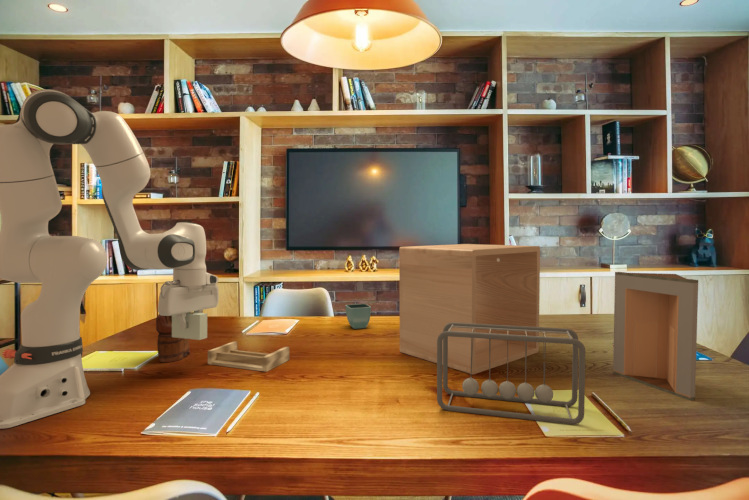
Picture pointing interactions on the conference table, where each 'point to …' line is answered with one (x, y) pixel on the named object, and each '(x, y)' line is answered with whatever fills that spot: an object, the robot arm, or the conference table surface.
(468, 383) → the newton's cradle
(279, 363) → the track frame
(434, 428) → the conference table surface
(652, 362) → the cabinet
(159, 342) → the wooden figurine
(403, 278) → the storage cube
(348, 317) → the flower pot
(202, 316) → the cream rectangular block
